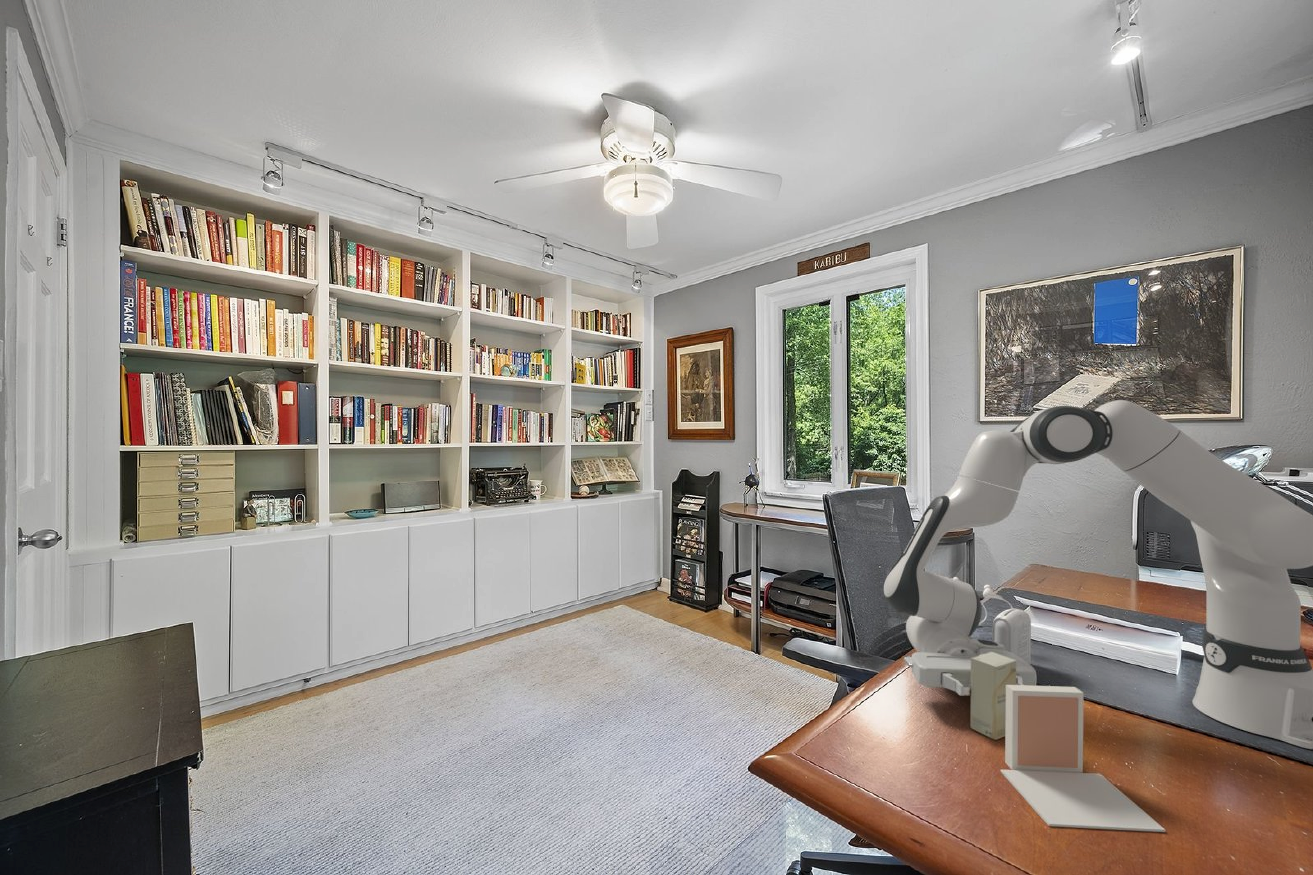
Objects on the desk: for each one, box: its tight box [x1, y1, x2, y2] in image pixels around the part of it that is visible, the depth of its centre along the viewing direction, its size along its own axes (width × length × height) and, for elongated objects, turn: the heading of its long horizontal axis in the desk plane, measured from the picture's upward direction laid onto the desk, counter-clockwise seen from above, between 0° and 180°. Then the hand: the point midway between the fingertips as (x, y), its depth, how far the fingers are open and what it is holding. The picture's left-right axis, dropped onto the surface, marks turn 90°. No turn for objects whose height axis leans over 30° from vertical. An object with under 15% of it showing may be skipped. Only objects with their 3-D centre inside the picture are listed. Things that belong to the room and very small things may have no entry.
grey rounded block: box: [992, 607, 1032, 665], centre depth 114 cm, size 10×4×12 cm, turn 123°
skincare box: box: [970, 652, 1016, 740], centre depth 91 cm, size 6×4×12 cm
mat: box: [999, 769, 1166, 833], centre depth 74 cm, size 14×11×1 cm
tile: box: [1004, 685, 1084, 773], centre depth 80 cm, size 10×2×12 cm, turn 86°
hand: (994, 692), depth 90 cm, fingers open, 8 cm apart
